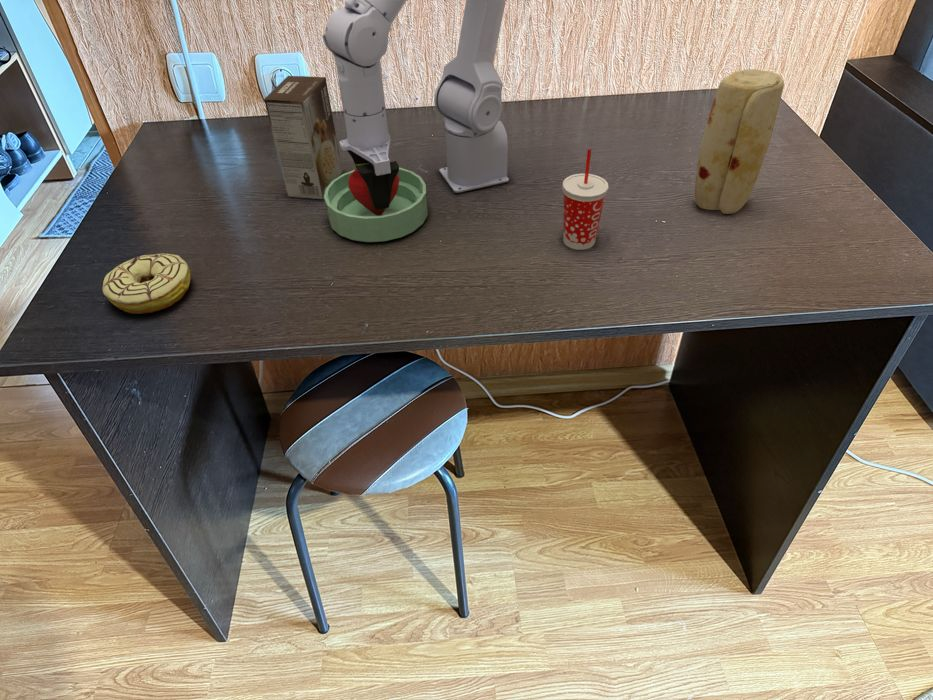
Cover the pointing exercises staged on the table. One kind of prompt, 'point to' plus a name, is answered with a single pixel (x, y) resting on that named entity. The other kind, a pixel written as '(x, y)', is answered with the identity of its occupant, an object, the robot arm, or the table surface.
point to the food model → (737, 139)
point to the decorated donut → (147, 283)
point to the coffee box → (304, 135)
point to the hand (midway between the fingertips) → (376, 197)
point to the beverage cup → (582, 207)
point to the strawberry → (362, 193)
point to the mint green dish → (368, 227)
